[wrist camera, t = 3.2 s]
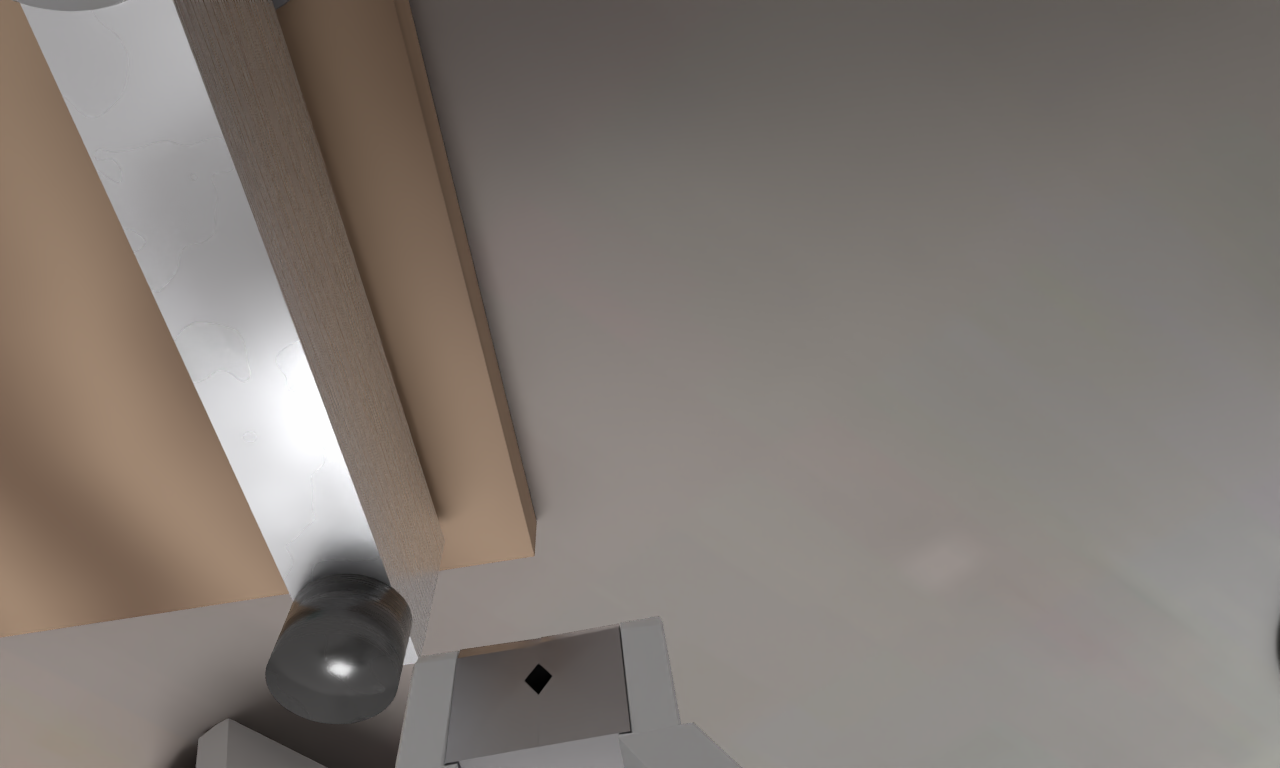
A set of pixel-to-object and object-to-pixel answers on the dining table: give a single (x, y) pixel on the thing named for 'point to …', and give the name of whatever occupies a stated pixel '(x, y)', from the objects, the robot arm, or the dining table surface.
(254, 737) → the white slotted block
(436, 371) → the wooden cutting board
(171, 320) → the lock bar
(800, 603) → the dining table surface
